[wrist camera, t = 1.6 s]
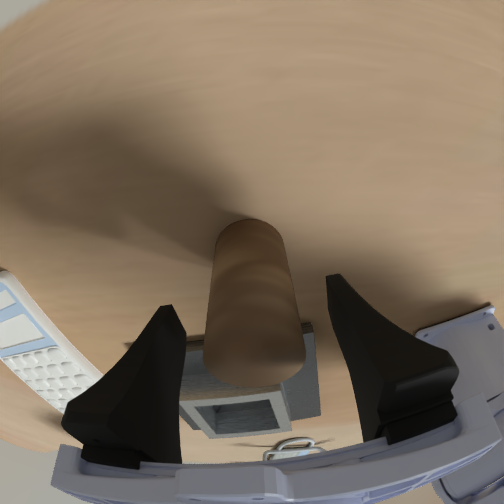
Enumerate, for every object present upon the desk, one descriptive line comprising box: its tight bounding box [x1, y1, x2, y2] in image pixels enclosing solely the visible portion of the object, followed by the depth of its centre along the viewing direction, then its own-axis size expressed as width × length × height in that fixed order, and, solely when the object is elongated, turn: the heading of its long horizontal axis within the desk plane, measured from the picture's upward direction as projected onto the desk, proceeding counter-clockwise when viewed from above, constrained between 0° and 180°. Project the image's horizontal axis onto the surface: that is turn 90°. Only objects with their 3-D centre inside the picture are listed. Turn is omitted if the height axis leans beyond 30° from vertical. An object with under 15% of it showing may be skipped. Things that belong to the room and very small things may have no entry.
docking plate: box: [179, 322, 321, 439], centre depth 24 cm, size 14×14×4 cm
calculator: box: [0, 270, 104, 414], centre depth 24 cm, size 13×20×2 cm, turn 21°
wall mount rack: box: [263, 438, 326, 461], centre depth 36 cm, size 16×14×6 cm
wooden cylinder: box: [203, 219, 306, 388], centre depth 15 cm, size 4×4×8 cm
